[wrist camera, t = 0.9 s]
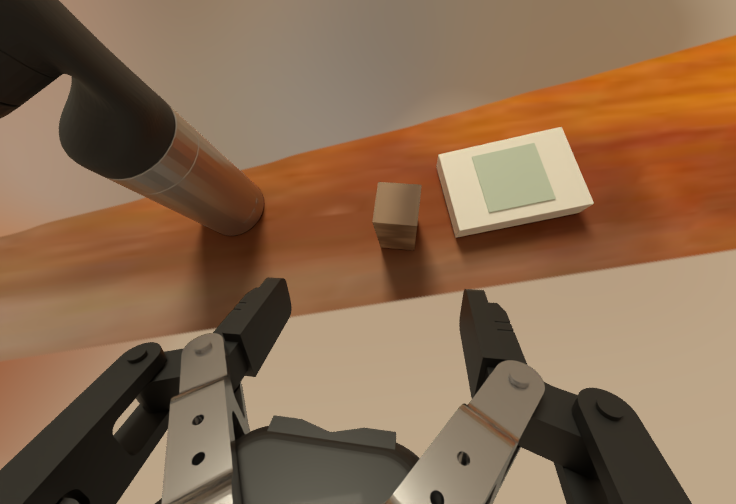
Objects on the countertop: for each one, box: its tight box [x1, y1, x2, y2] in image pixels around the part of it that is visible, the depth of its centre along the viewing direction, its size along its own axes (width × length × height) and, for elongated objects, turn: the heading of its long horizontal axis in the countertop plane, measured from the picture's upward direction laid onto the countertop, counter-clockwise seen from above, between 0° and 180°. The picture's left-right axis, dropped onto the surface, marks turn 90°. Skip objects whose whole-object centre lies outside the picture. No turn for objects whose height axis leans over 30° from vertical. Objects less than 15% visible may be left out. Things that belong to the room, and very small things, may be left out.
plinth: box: [436, 127, 594, 238], centre depth 37 cm, size 16×11×3 cm
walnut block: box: [373, 182, 421, 251], centre depth 34 cm, size 5×5×10 cm
